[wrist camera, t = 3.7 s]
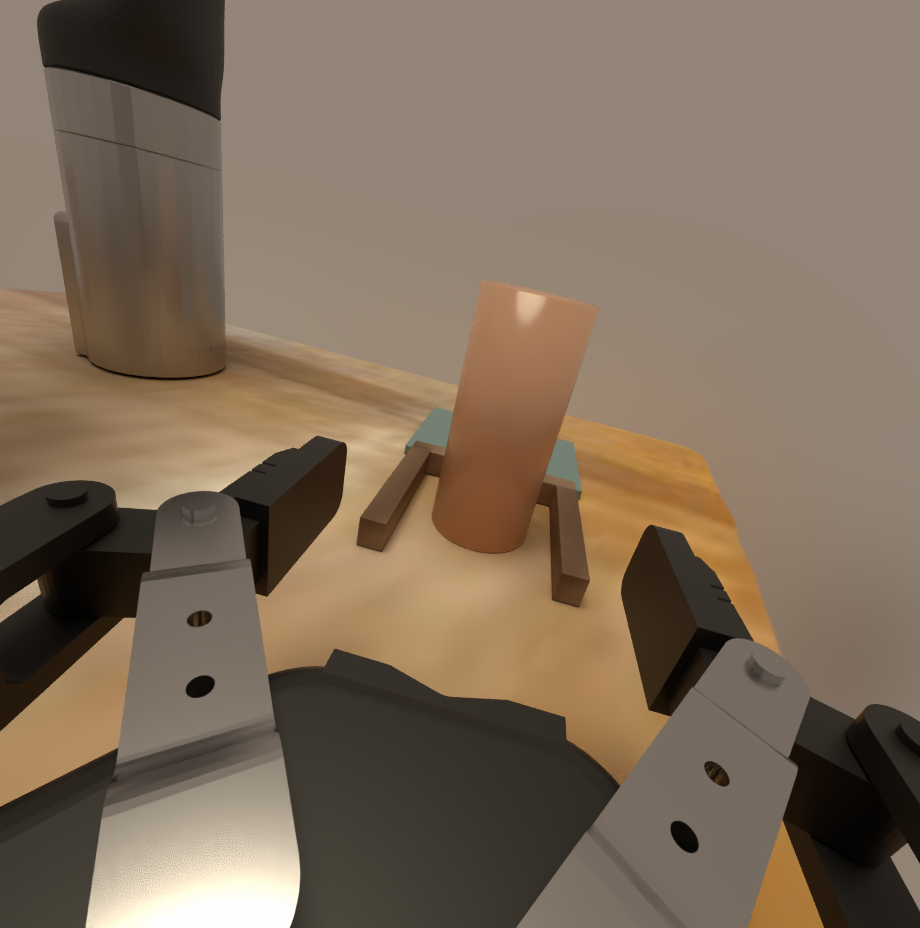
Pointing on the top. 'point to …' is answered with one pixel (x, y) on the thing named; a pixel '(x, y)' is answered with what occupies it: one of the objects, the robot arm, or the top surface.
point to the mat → (438, 431)
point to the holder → (554, 492)
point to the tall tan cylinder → (508, 412)
